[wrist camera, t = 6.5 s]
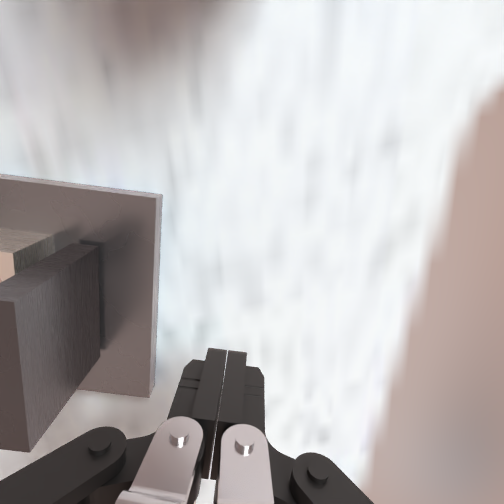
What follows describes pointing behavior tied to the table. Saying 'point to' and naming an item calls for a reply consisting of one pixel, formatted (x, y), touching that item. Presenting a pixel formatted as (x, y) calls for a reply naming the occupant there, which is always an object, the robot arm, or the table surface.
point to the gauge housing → (110, 264)
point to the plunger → (46, 341)
